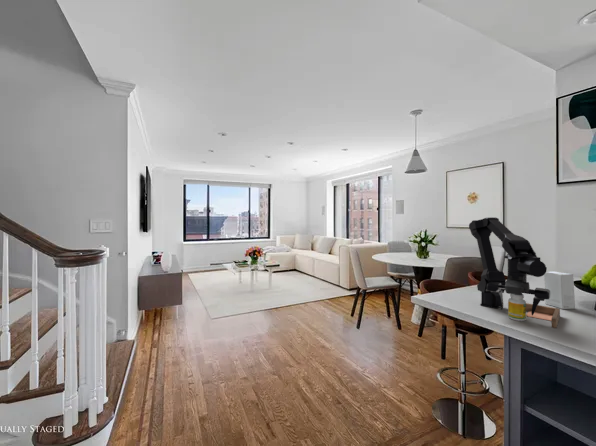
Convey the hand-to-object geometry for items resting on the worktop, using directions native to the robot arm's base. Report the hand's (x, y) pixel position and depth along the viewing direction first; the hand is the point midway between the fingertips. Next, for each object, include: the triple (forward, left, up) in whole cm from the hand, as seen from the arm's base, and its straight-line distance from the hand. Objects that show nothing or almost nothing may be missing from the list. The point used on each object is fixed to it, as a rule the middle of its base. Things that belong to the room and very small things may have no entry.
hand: (516, 312), depth 106 cm
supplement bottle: (0, 0, -3) cm, 3 cm away
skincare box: (+10, +32, -3) cm, 34 cm away
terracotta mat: (+6, +10, -2) cm, 12 cm away
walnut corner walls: (+4, +7, -2) cm, 8 cm away
